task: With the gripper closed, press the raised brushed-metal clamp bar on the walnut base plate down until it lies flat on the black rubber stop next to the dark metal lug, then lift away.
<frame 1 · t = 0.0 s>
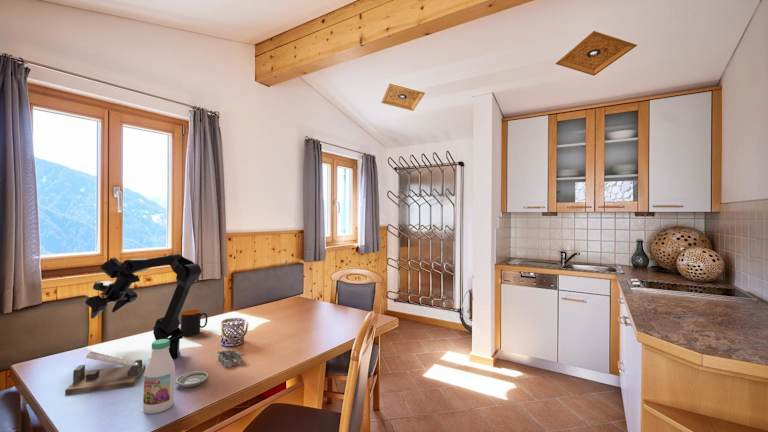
hand: (102, 314, 140), 15 cm above the table, tool tilted 35°, fingers open, 9 cm apart
clamp bar: (114, 360, 117), point 7 cm above the table, hinge at 22.0°
saucer: (192, 384, 116), on the table
milk bottle: (158, 407, 101), on the table
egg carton: (229, 362, 134), on the table
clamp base: (108, 380, 116), on the table
mug: (194, 333, 164), on the table
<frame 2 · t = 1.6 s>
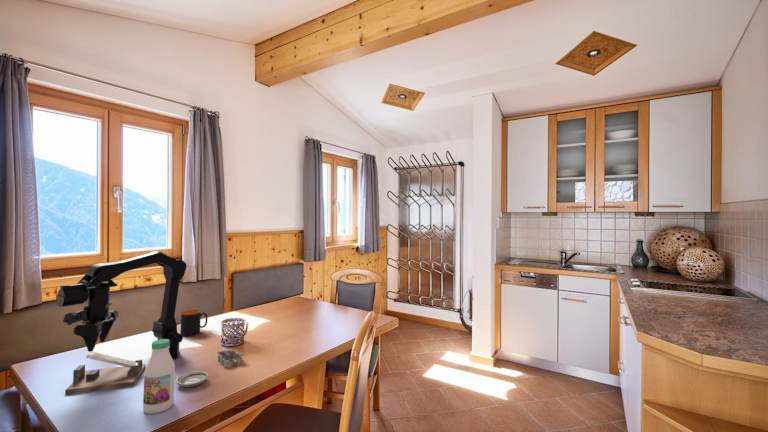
hand: (96, 346, 115), 12 cm above the table, tool pointing down, fingers open, 9 cm apart
nothing on the table moved.
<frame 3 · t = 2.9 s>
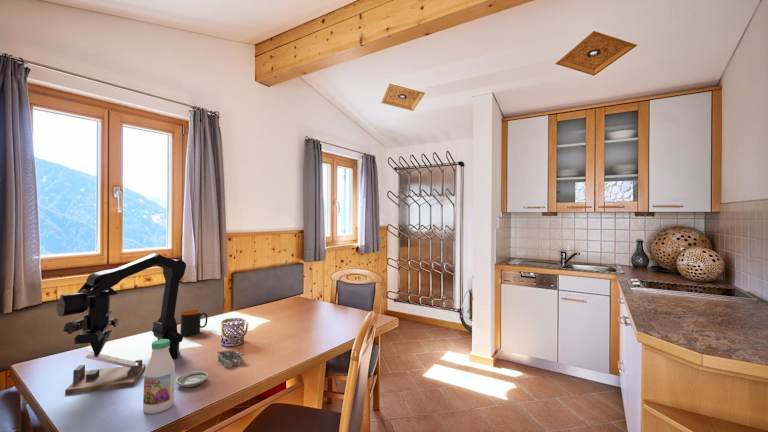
hand: (97, 354, 115), 9 cm above the table, tool pointing down, fingers closed, pressing on clamp bar
clamp bar: (114, 360, 117), point 7 cm above the table, hinge at 21.7°, touching gripper
everything else where it was.
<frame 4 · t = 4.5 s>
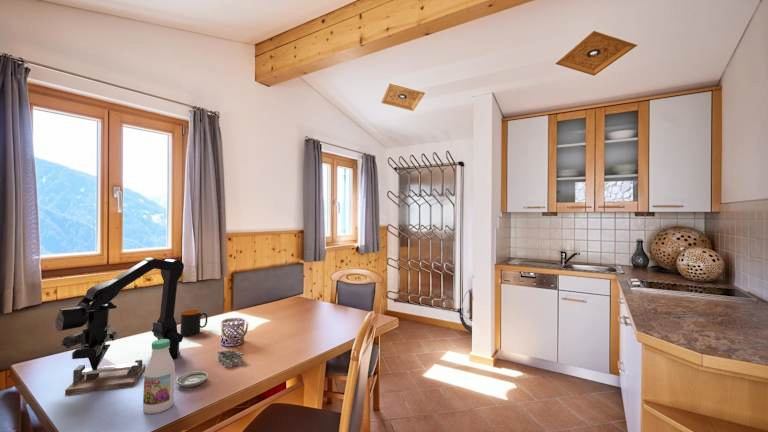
hand: (94, 369, 115), 4 cm above the table, tool pointing down, fingers closed, pressing on clamp bar
clamp bar: (112, 368, 116), point 4 cm above the table, hinge at 0.0°, touching gripper
everything else where it was.
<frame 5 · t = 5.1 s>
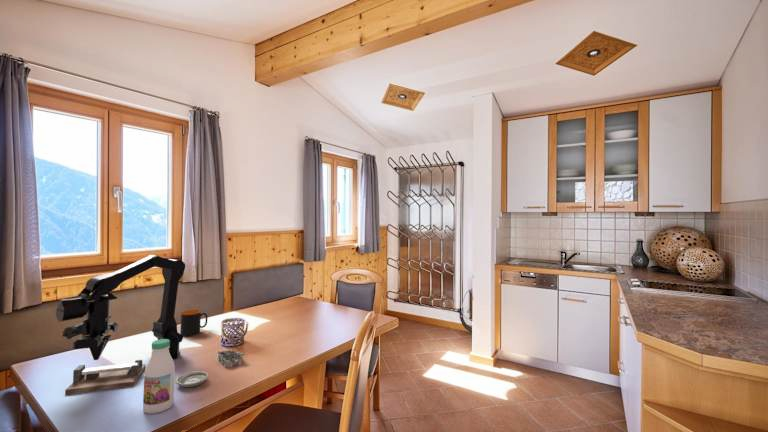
hand: (96, 359, 115), 8 cm above the table, tool pointing down, fingers closed
clamp bar: (112, 368, 116), point 4 cm above the table, hinge at 0.0°
everything else where it was.
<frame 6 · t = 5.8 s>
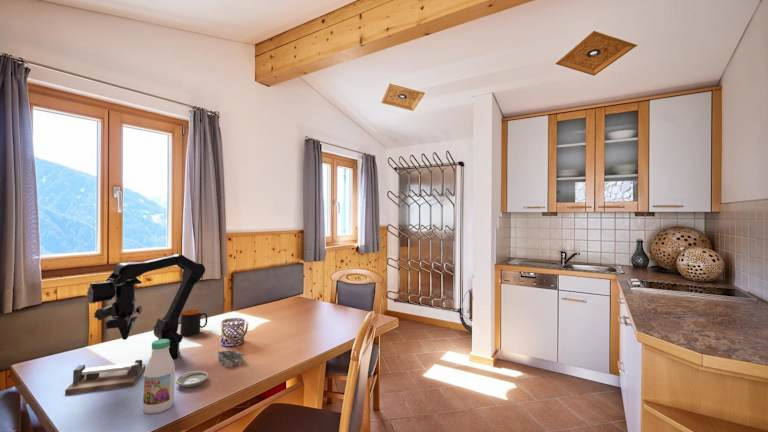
hand: (125, 339, 124), 12 cm above the table, tool pointing down, fingers closed
nothing on the table moved.
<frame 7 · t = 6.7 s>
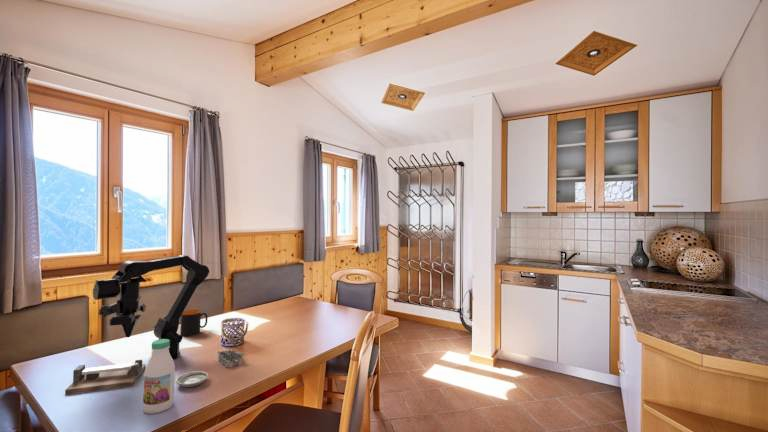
hand: (128, 336, 125), 12 cm above the table, tool pointing down, fingers closed
nothing on the table moved.
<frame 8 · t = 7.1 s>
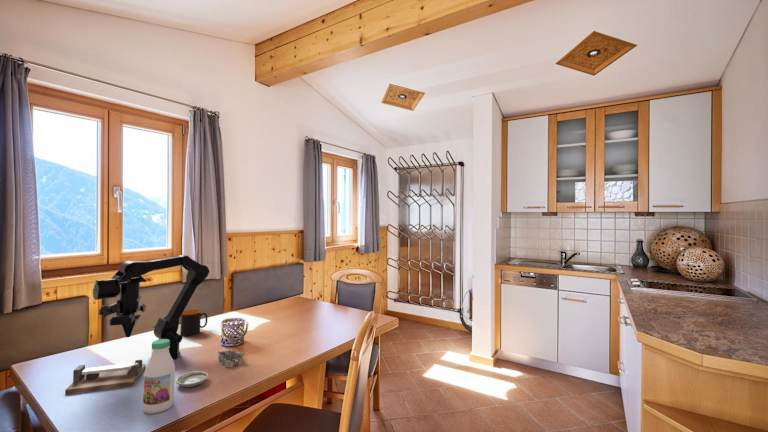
hand: (128, 336, 125), 12 cm above the table, tool pointing down, fingers closed
nothing on the table moved.
at the end: clamp bar at +0° (first picture: +22°) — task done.
